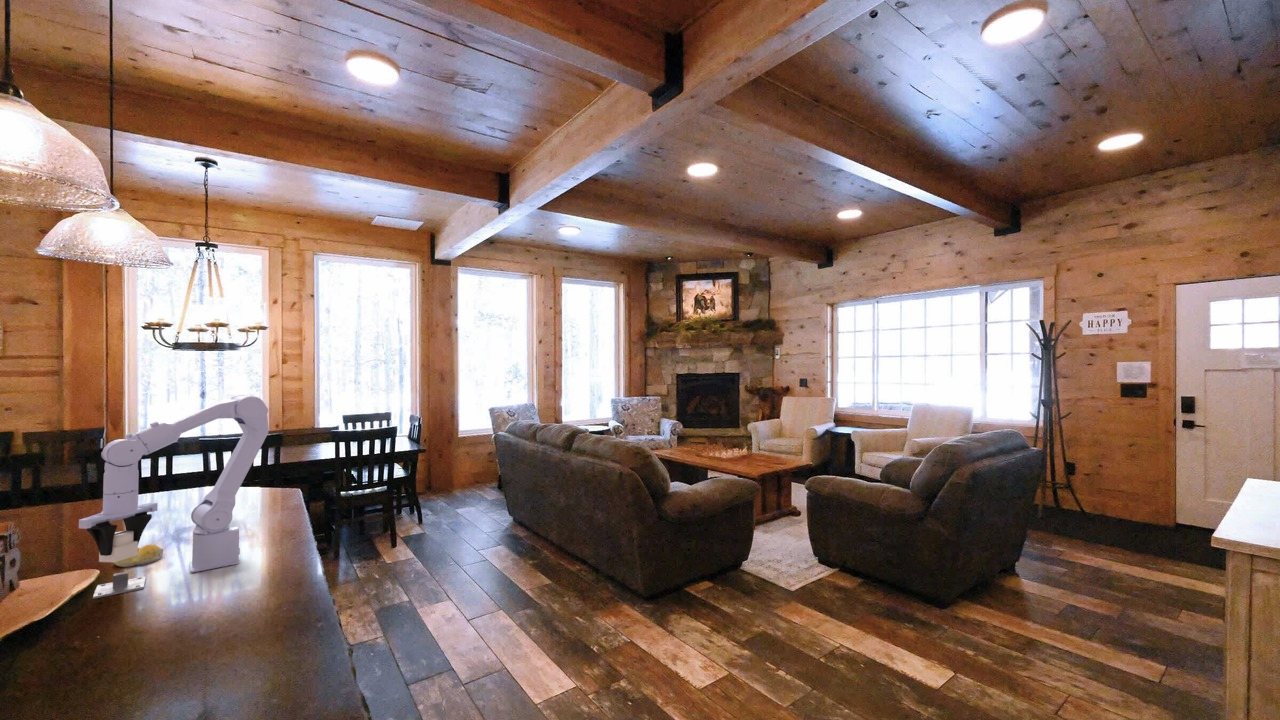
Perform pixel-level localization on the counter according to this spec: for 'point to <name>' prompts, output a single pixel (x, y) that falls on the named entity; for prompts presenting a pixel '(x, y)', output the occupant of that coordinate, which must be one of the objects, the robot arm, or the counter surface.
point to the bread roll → (142, 556)
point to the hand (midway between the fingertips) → (119, 550)
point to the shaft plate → (119, 590)
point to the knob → (121, 547)
